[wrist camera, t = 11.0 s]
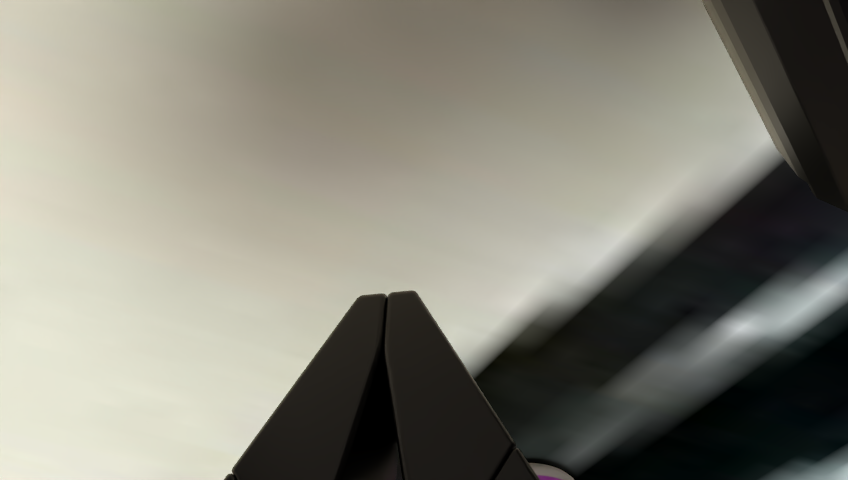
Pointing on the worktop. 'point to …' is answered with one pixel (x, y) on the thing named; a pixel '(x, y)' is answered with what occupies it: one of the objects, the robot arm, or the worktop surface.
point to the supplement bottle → (549, 472)
